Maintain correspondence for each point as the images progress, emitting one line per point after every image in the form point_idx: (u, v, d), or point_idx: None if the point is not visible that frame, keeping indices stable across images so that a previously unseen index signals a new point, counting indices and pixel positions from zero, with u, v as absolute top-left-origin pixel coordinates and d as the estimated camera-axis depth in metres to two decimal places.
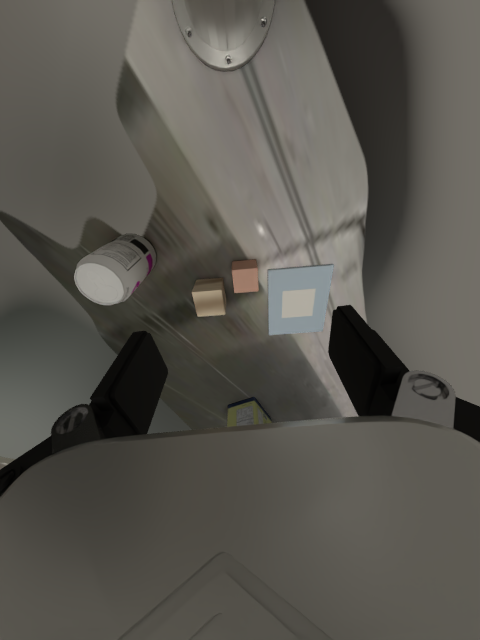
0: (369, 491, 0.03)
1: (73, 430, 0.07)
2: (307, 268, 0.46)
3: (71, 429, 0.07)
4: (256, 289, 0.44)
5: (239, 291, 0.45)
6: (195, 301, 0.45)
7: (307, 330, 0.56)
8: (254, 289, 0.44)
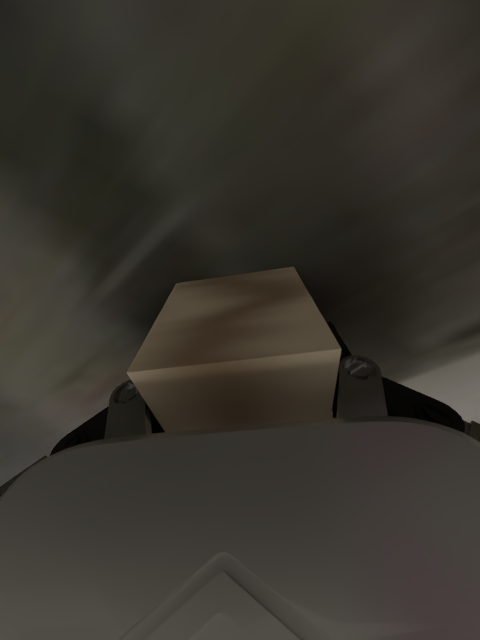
0: (369, 491, 0.03)
1: (126, 402, 0.07)
2: None
3: (125, 400, 0.08)
4: None
5: None
6: (260, 365, 0.06)
7: None
8: None
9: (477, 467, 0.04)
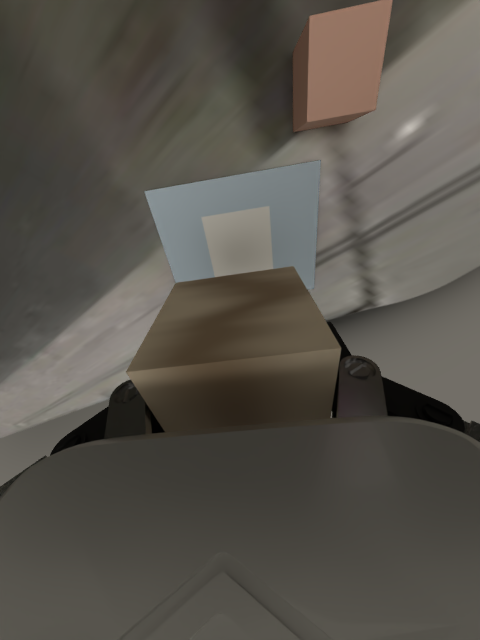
0: (369, 491, 0.03)
1: (126, 402, 0.07)
2: (313, 247, 0.26)
3: (125, 400, 0.08)
4: (312, 114, 0.16)
5: (313, 41, 0.14)
6: (259, 364, 0.06)
7: (179, 279, 0.28)
8: (313, 106, 0.16)
9: (477, 467, 0.04)
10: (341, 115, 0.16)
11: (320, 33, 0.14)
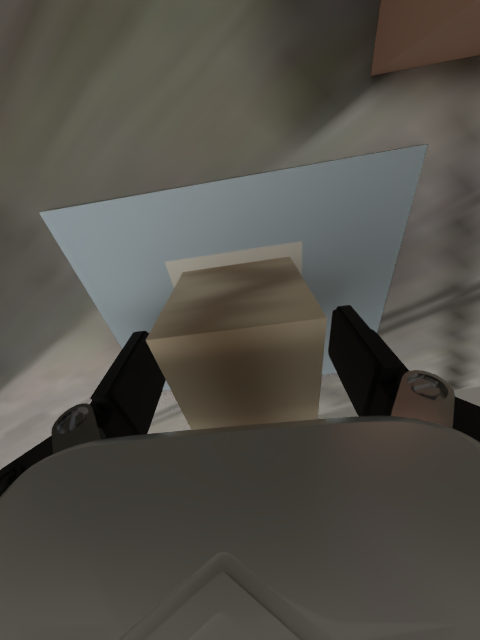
0: (369, 491, 0.03)
1: (74, 430, 0.07)
2: (378, 311, 0.14)
3: (72, 429, 0.07)
4: None
5: None
6: (258, 333, 0.07)
7: None
8: None
9: (477, 467, 0.04)
10: None
11: None
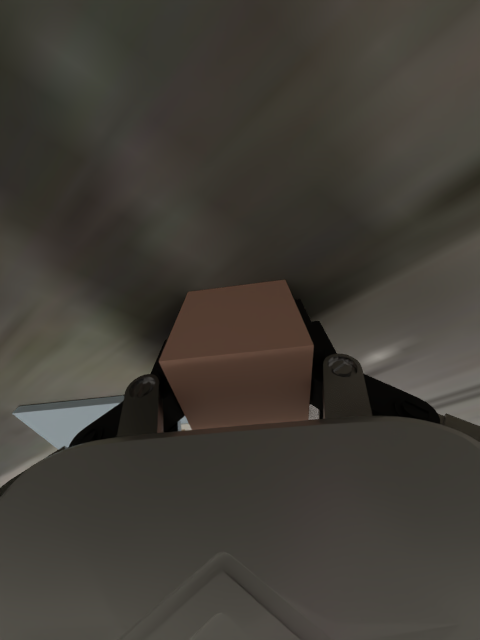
0: (369, 491, 0.03)
1: (140, 397, 0.08)
2: None
3: (140, 395, 0.08)
4: None
5: (176, 382, 0.08)
6: None
7: None
8: None
9: (477, 467, 0.04)
10: None
11: (186, 376, 0.07)
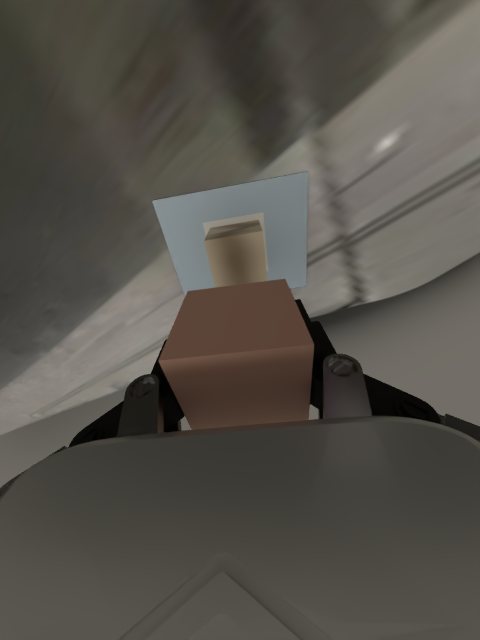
0: (369, 491, 0.03)
1: (141, 397, 0.08)
2: (304, 248, 0.28)
3: (140, 395, 0.08)
4: None
5: (176, 381, 0.08)
6: (241, 237, 0.22)
7: (183, 278, 0.31)
8: (201, 428, 0.09)
9: (477, 467, 0.04)
10: None
11: (186, 375, 0.07)
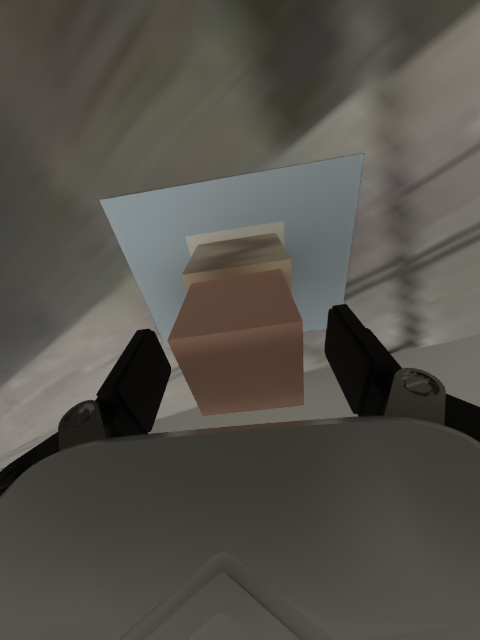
0: (369, 491, 0.03)
1: (80, 426, 0.07)
2: (343, 276, 0.19)
3: (78, 425, 0.07)
4: (208, 410, 0.11)
5: (183, 360, 0.09)
6: (250, 270, 0.12)
7: (158, 316, 0.21)
8: (207, 405, 0.10)
9: (477, 467, 0.04)
10: None
11: (192, 353, 0.08)
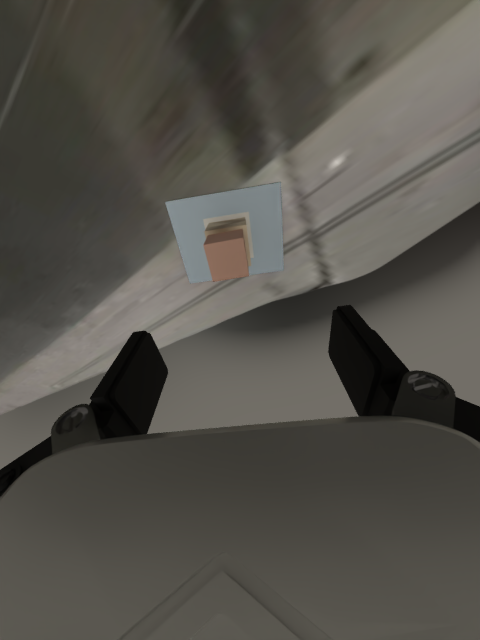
0: (369, 491, 0.03)
1: (73, 430, 0.07)
2: (281, 240, 0.37)
3: (71, 429, 0.07)
4: (215, 278, 0.29)
5: (207, 253, 0.27)
6: (231, 229, 0.30)
7: (187, 263, 0.39)
8: (214, 275, 0.29)
9: (477, 467, 0.04)
10: (231, 278, 0.29)
11: (210, 250, 0.27)
